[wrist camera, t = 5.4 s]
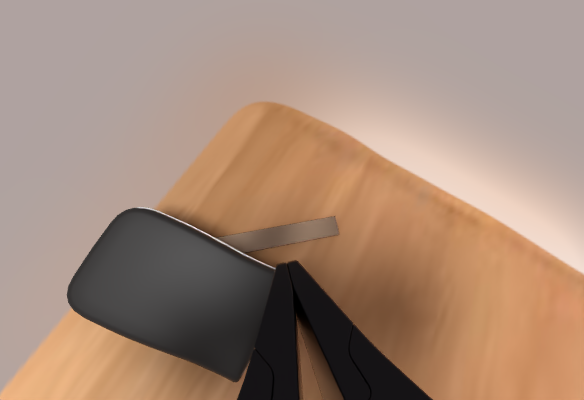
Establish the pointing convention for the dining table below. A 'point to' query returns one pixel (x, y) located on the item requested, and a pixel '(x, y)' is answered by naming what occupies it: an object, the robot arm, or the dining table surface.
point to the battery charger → (174, 290)
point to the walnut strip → (282, 235)
